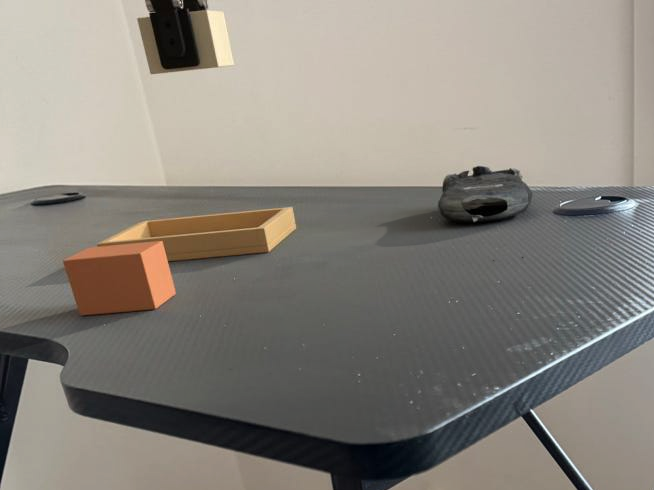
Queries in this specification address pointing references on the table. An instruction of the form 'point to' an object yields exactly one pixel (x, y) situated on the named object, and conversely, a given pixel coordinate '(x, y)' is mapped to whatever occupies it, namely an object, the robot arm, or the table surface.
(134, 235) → the tray
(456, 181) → the electronic device
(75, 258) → the pad
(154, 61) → the pad
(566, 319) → the table surface
